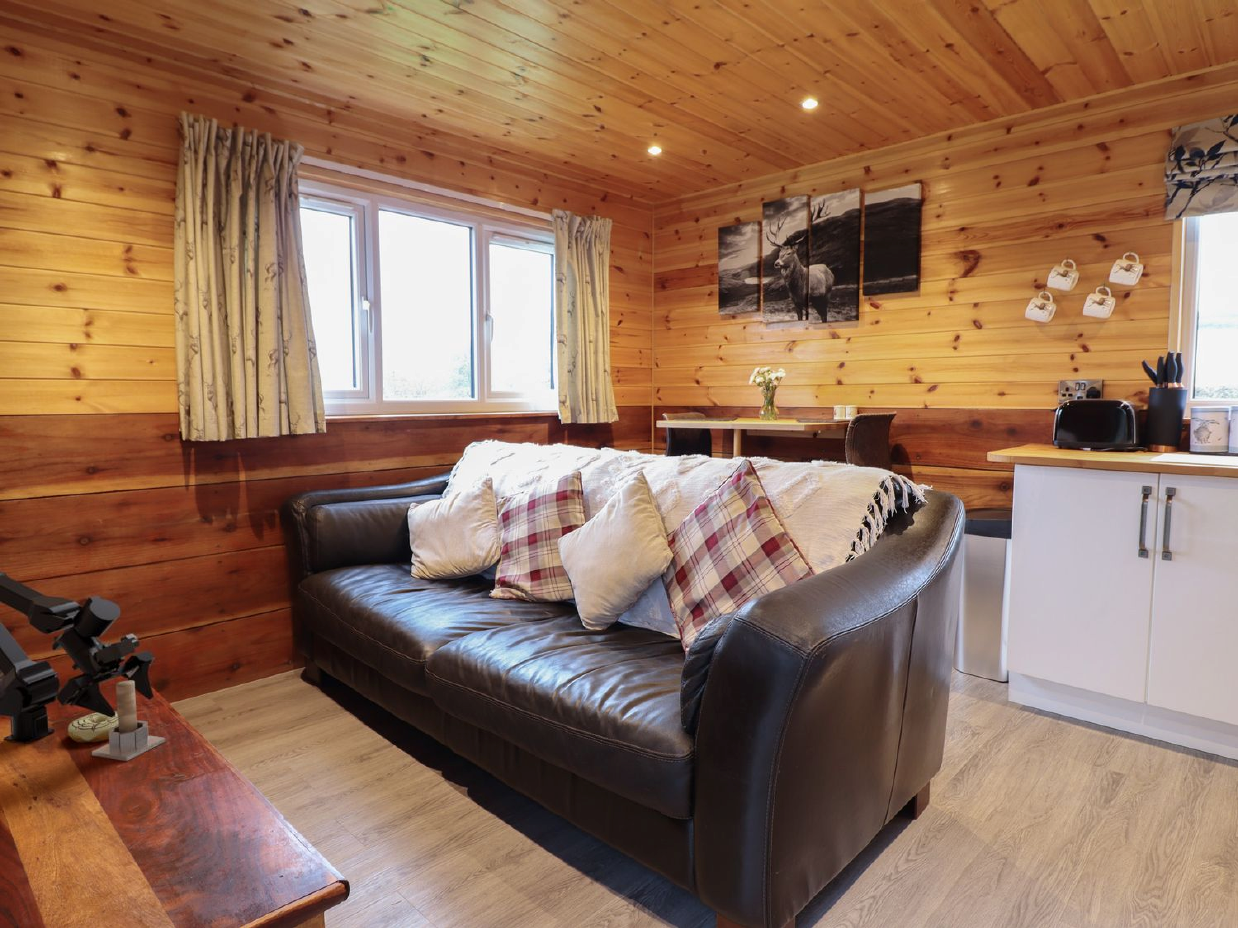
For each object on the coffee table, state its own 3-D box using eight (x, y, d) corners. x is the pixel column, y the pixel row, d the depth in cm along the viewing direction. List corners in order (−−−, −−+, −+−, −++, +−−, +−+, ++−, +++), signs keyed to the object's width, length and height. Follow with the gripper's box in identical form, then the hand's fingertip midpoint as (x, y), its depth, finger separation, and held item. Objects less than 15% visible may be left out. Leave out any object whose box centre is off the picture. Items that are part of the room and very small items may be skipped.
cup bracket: (92, 755, 149) (91, 733, 149) (131, 736, 158) (131, 716, 158) (126, 760, 147) (126, 739, 147) (165, 741, 156) (164, 720, 155)
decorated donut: (87, 750, 152) (86, 732, 152) (57, 739, 157) (56, 722, 156) (138, 729, 161) (137, 713, 161) (108, 720, 166) (108, 704, 166)
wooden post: (116, 747, 151) (112, 686, 150) (125, 741, 154) (121, 680, 153) (132, 746, 151) (128, 685, 150) (141, 740, 154) (137, 679, 154)
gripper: (65, 639, 142) (115, 699, 141) (146, 613, 160) (190, 666, 159) (35, 675, 144) (83, 735, 143) (117, 646, 163) (161, 698, 161)
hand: (133, 706), depth 151 cm, fingers open, 9 cm apart
